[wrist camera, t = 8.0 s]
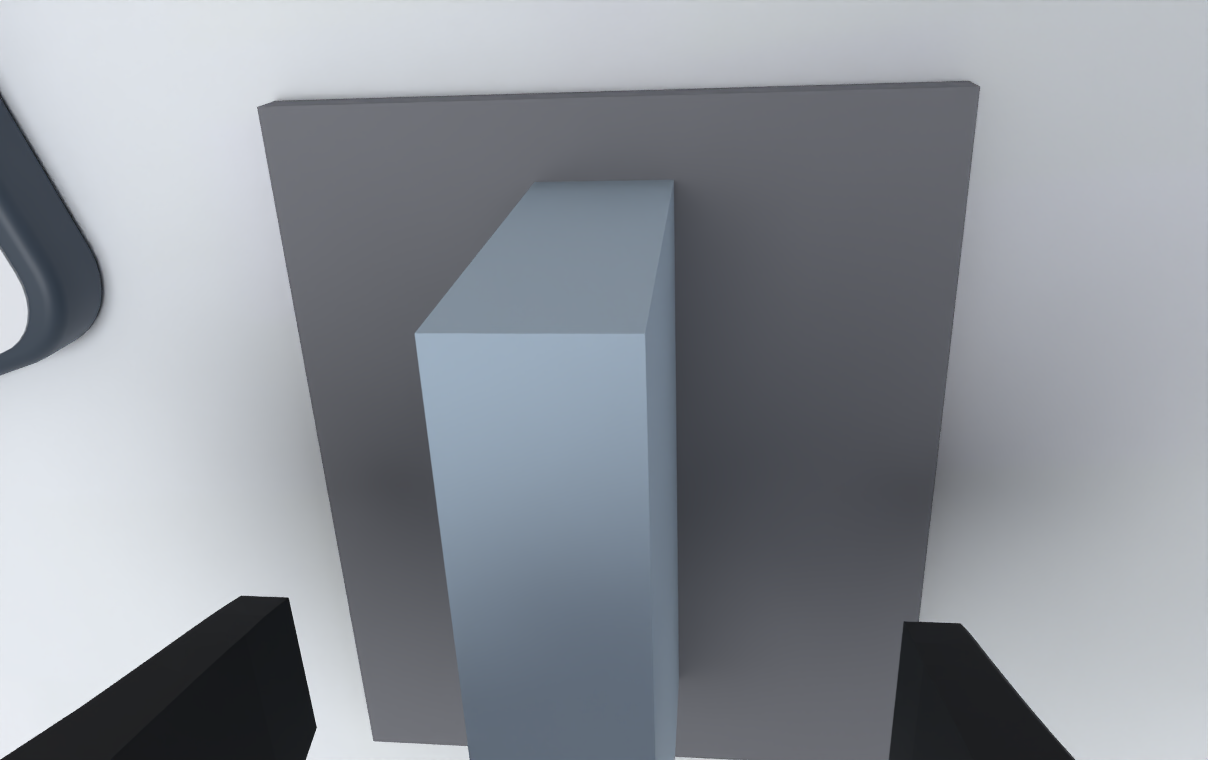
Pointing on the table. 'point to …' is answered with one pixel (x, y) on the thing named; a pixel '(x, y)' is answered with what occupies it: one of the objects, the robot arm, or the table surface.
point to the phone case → (38, 260)
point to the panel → (562, 474)
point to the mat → (703, 373)
